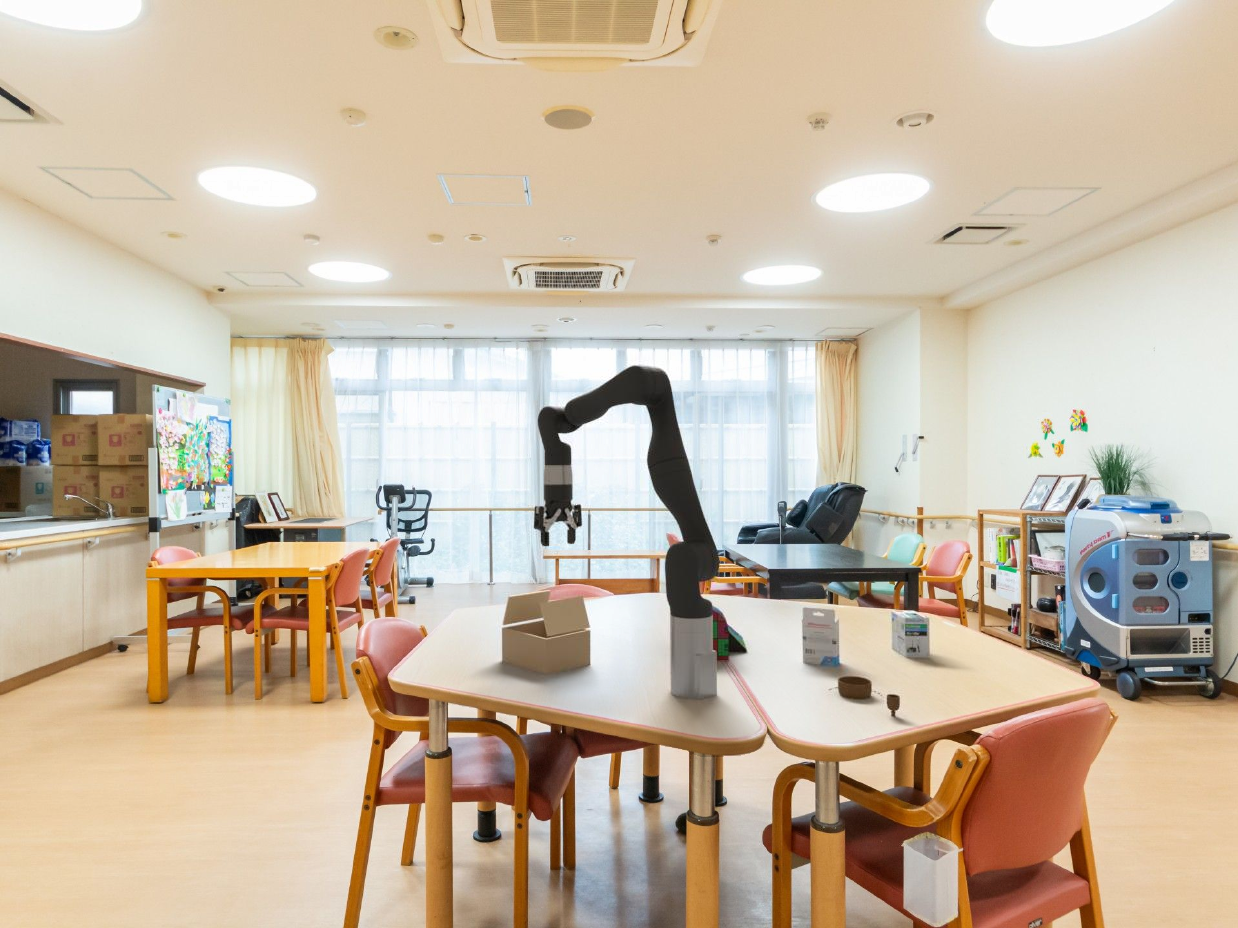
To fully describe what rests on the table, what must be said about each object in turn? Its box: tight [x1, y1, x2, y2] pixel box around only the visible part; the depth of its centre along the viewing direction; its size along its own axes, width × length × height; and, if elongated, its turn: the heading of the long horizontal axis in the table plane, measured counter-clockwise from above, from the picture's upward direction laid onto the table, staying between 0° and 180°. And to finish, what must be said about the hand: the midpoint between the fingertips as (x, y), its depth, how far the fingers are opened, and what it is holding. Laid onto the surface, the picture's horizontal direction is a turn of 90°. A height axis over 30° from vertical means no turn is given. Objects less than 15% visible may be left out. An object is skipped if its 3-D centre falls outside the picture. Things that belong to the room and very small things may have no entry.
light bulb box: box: [890, 609, 931, 659], centre depth 198 cm, size 11×7×11 cm, turn 179°
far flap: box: [502, 589, 551, 626], centre depth 191 cm, size 8×13×1 cm
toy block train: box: [712, 605, 748, 662], centre depth 202 cm, size 25×17×14 cm
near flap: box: [540, 595, 591, 637], centre depth 179 cm, size 8×13×1 cm
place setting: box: [828, 675, 901, 718], centre depth 155 cm, size 18×20×6 cm
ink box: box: [801, 606, 840, 667], centre depth 187 cm, size 9×5×15 cm, turn 62°
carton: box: [501, 619, 591, 675], centre depth 185 cm, size 18×14×10 cm
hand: (558, 544), depth 192 cm, fingers open, 8 cm apart
